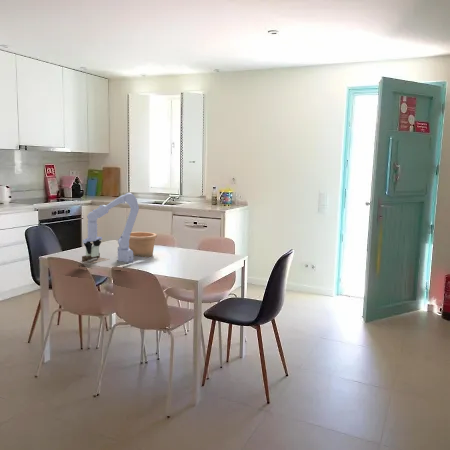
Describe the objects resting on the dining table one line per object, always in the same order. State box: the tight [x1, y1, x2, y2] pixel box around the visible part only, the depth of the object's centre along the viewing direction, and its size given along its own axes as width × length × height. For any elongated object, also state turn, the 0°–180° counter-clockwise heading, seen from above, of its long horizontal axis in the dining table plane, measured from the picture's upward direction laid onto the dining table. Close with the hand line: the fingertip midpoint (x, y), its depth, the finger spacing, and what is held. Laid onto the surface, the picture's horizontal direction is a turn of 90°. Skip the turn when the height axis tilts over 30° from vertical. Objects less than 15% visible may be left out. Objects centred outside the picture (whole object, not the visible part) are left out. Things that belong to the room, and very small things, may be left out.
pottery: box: [129, 231, 158, 258], centre depth 309 cm, size 22×22×14 cm
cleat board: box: [81, 252, 110, 264], centre depth 284 cm, size 10×14×4 cm
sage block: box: [85, 244, 100, 257], centre depth 281 cm, size 6×5×6 cm
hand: (92, 252), depth 281 cm, fingers closed on sage block, 5 cm apart
